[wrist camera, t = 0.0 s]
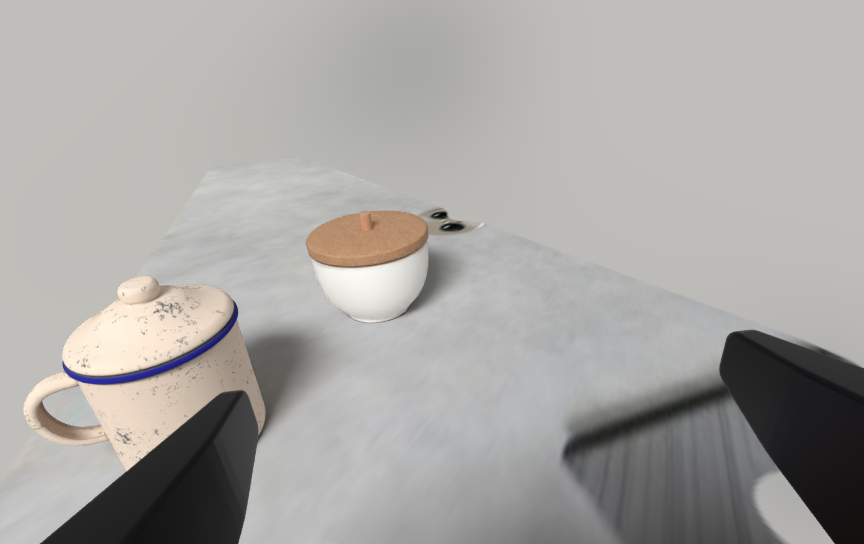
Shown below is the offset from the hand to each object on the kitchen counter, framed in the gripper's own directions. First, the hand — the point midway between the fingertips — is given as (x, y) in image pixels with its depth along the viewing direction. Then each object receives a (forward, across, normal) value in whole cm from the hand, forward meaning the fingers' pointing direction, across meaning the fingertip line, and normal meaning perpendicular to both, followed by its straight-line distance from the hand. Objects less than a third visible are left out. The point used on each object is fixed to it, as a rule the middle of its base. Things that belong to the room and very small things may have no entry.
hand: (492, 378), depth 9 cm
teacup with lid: (+17, +18, +17) cm, 30 cm away
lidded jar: (+32, +5, +17) cm, 36 cm away
